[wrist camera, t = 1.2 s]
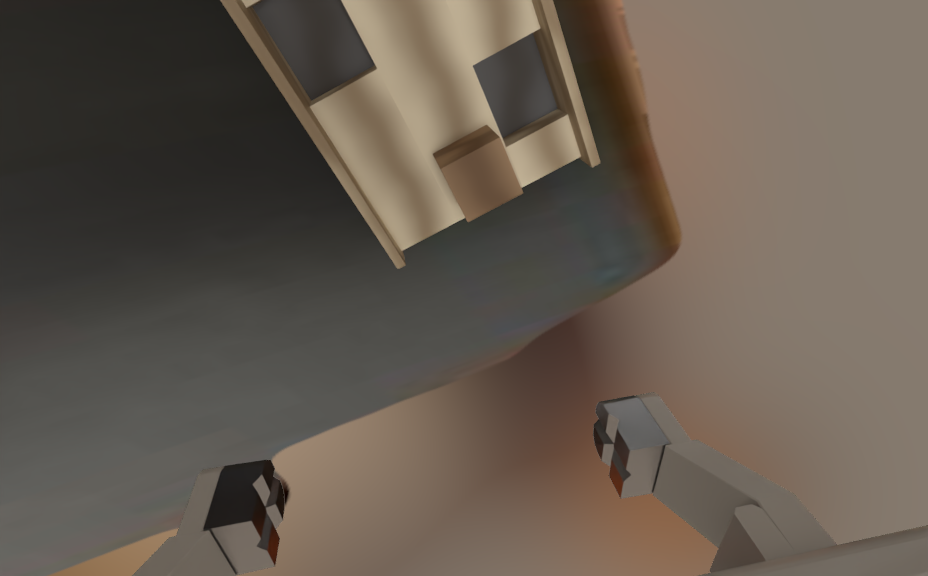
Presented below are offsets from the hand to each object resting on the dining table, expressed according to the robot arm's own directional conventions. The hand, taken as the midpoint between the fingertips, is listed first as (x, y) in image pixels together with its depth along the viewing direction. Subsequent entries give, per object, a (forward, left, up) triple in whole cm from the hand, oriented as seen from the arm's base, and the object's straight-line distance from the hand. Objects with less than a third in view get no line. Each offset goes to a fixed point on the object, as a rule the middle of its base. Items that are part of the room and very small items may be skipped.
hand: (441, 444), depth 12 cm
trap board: (+6, +3, -33) cm, 34 cm away
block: (+6, -6, -31) cm, 32 cm away
